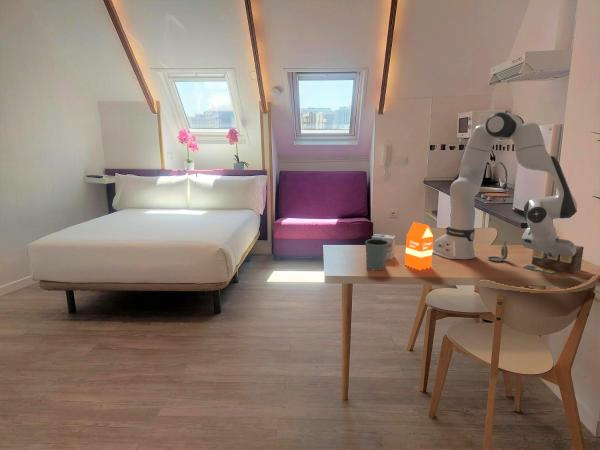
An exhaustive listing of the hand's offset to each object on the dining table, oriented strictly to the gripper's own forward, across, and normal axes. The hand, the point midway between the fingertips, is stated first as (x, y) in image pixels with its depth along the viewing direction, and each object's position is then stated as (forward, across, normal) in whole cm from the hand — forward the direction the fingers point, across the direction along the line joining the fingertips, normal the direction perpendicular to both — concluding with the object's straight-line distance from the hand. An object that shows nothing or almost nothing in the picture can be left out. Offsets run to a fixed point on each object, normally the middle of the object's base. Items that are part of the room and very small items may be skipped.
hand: (551, 255), depth 181 cm
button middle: (+5, 0, -2) cm, 5 cm away
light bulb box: (-26, +59, +36) cm, 74 cm away
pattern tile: (+1, +2, +8) cm, 8 cm away
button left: (+3, +5, 0) cm, 6 cm away
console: (+9, 0, 0) cm, 9 cm away
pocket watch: (+2, +21, +8) cm, 22 cm away
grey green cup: (-37, +50, +46) cm, 77 cm away
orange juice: (-25, +39, +35) cm, 58 cm away
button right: (+5, -5, -2) cm, 7 cm away
